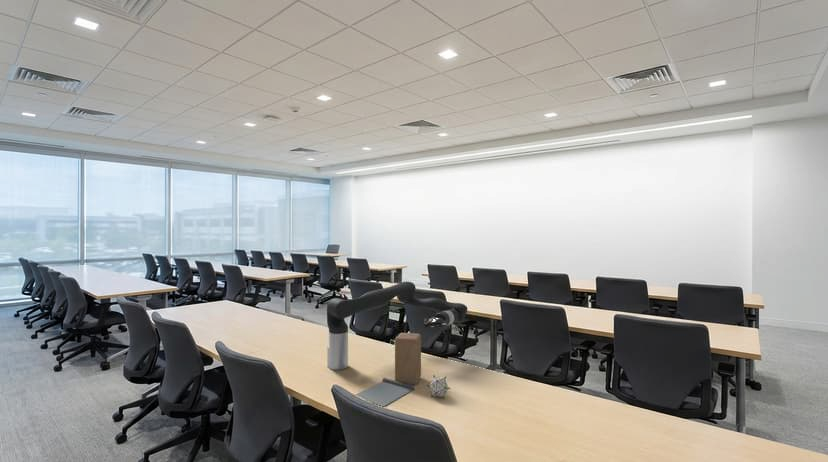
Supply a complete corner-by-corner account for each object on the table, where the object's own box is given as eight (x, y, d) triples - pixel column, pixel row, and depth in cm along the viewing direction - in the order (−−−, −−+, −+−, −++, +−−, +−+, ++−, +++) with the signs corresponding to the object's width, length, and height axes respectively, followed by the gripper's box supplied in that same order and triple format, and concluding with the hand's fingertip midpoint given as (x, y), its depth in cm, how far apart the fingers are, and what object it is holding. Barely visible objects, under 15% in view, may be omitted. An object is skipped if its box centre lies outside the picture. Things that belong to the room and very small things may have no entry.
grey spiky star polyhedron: (442, 404, 155) (457, 383, 156) (437, 405, 148) (452, 383, 149) (425, 389, 159) (439, 369, 160) (419, 389, 152) (434, 368, 153)
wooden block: (416, 385, 165) (416, 339, 165) (394, 383, 167) (394, 337, 167) (421, 377, 175) (421, 333, 175) (400, 375, 177) (400, 332, 177)
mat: (352, 396, 154) (352, 393, 154) (384, 381, 170) (384, 377, 170) (383, 407, 145) (383, 403, 145) (414, 389, 161) (414, 386, 161)
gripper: (433, 310, 200) (413, 316, 186) (455, 313, 193) (437, 319, 179) (433, 324, 200) (413, 331, 186) (455, 328, 193) (437, 335, 179)
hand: (425, 325), depth 182 cm, fingers closed
